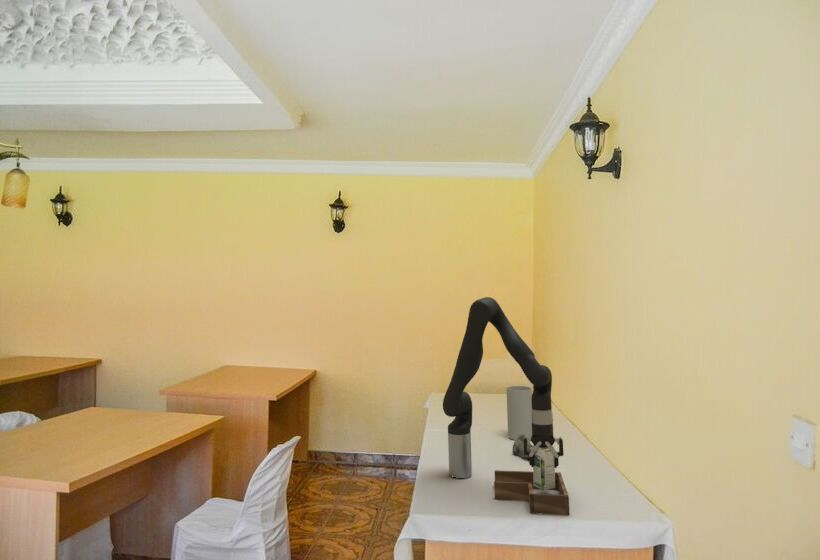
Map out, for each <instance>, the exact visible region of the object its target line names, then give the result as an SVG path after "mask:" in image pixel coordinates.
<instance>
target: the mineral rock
mask: <svg viewBox="0 0 820 560" xmlns="http://www.w3.org/2000/svg"><path fill="white" fill-rule="evenodd" d="M524 437H526V436H525V435H524V434H518V435H517V437H516V439H515V440H513V445H512V449H511V452H512V454H514V455H516V456H518V457H521V458H525V459H529V456H528V455H524V444H523V438H524ZM526 438H527V437H526ZM532 446H533V444H532V443H531V441H530V442H529V444H527V451H530V450H531V448H532Z"/></svg>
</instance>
